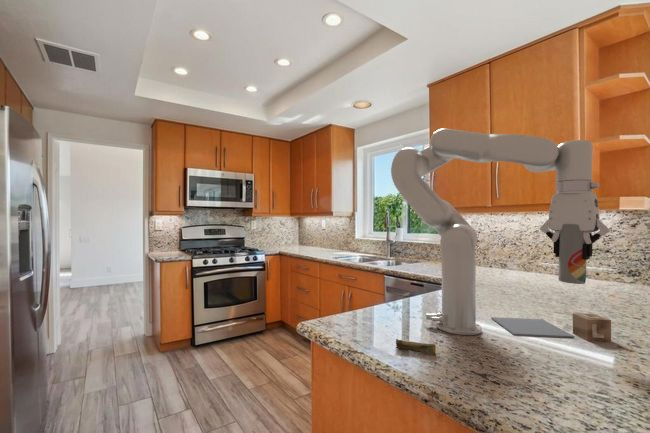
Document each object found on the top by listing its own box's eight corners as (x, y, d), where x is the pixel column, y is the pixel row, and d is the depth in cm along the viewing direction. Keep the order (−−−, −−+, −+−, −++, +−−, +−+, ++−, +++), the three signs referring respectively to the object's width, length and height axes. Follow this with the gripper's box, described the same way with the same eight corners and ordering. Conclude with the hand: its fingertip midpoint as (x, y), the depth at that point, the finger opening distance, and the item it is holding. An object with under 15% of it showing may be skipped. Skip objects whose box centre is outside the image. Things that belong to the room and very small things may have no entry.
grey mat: (513, 335, 91) (513, 333, 91) (491, 318, 107) (491, 317, 107) (574, 338, 90) (574, 336, 90) (542, 320, 106) (542, 319, 106)
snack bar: (435, 355, 78) (435, 342, 78) (435, 357, 76) (435, 345, 76) (395, 349, 81) (395, 337, 81) (394, 351, 80) (394, 339, 80)
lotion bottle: (590, 285, 80) (593, 205, 80) (565, 283, 82) (568, 204, 82) (577, 280, 86) (580, 206, 86) (553, 279, 87) (556, 205, 87)
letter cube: (587, 341, 87) (587, 319, 87) (572, 333, 93) (572, 312, 93) (611, 342, 87) (611, 319, 87) (595, 334, 93) (594, 313, 93)
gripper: (620, 187, 79) (619, 261, 79) (542, 191, 93) (541, 254, 93) (611, 185, 75) (610, 263, 75) (531, 189, 89) (529, 255, 89)
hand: (572, 257), depth 84 cm, fingers closed on lotion bottle, 5 cm apart
